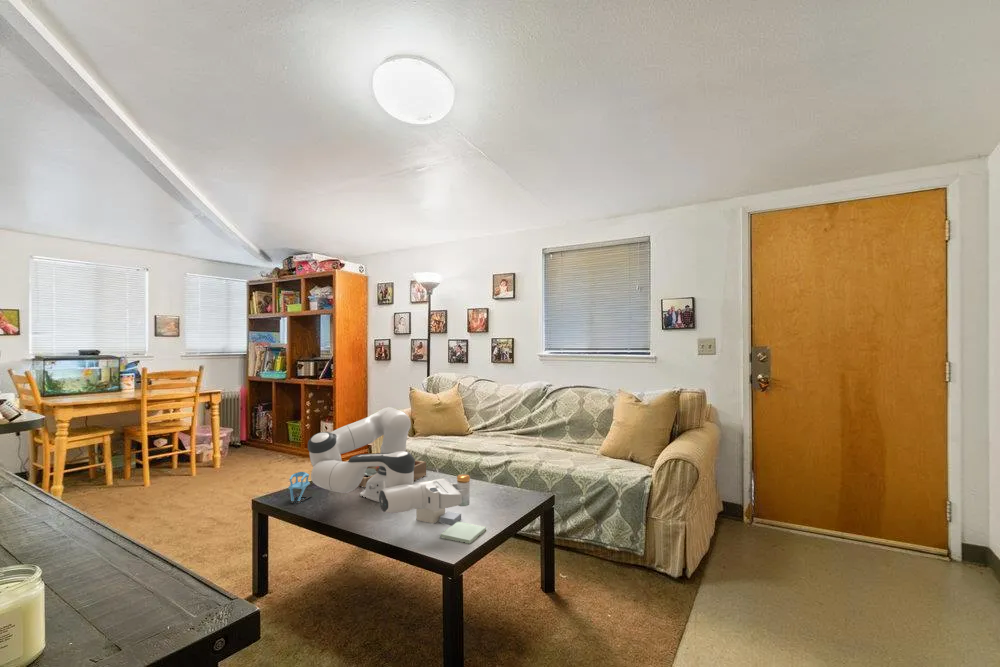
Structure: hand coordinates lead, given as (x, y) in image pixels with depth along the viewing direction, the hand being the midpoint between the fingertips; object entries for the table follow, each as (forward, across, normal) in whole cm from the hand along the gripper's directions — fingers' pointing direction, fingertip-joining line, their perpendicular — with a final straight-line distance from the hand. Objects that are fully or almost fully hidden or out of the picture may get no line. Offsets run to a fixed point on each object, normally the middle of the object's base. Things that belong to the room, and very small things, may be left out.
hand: (465, 488), depth 163 cm
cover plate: (-2, -14, -17) cm, 21 cm away
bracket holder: (-6, -73, -16) cm, 75 cm away
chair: (-55, -63, -16) cm, 85 cm away
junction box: (-8, -19, -16) cm, 26 cm away
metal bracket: (-21, -84, -17) cm, 88 cm away
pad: (-1, 0, -16) cm, 16 cm away
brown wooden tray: (-24, -82, -16) cm, 87 cm away
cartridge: (-1, 0, -6) cm, 6 cm away
